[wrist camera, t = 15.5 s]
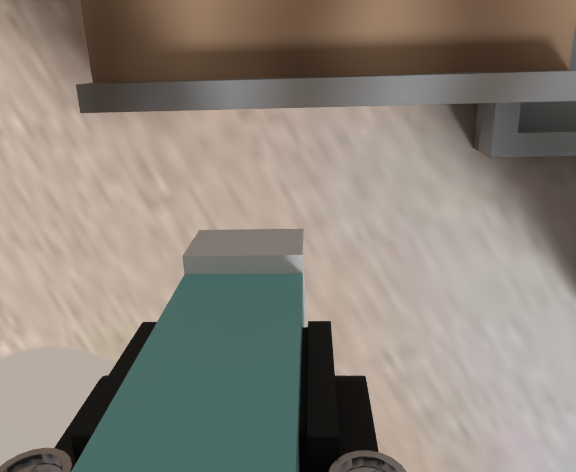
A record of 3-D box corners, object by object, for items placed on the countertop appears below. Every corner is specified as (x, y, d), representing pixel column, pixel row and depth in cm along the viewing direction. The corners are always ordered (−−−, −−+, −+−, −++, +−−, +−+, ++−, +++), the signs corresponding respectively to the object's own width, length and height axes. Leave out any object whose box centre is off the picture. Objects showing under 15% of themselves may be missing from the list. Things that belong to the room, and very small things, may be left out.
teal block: (303, 228, 14) (290, 553, 5) (306, 377, 16) (300, 830, 7) (198, 230, 15) (-4, 548, 5) (212, 377, 16) (77, 820, 7)
